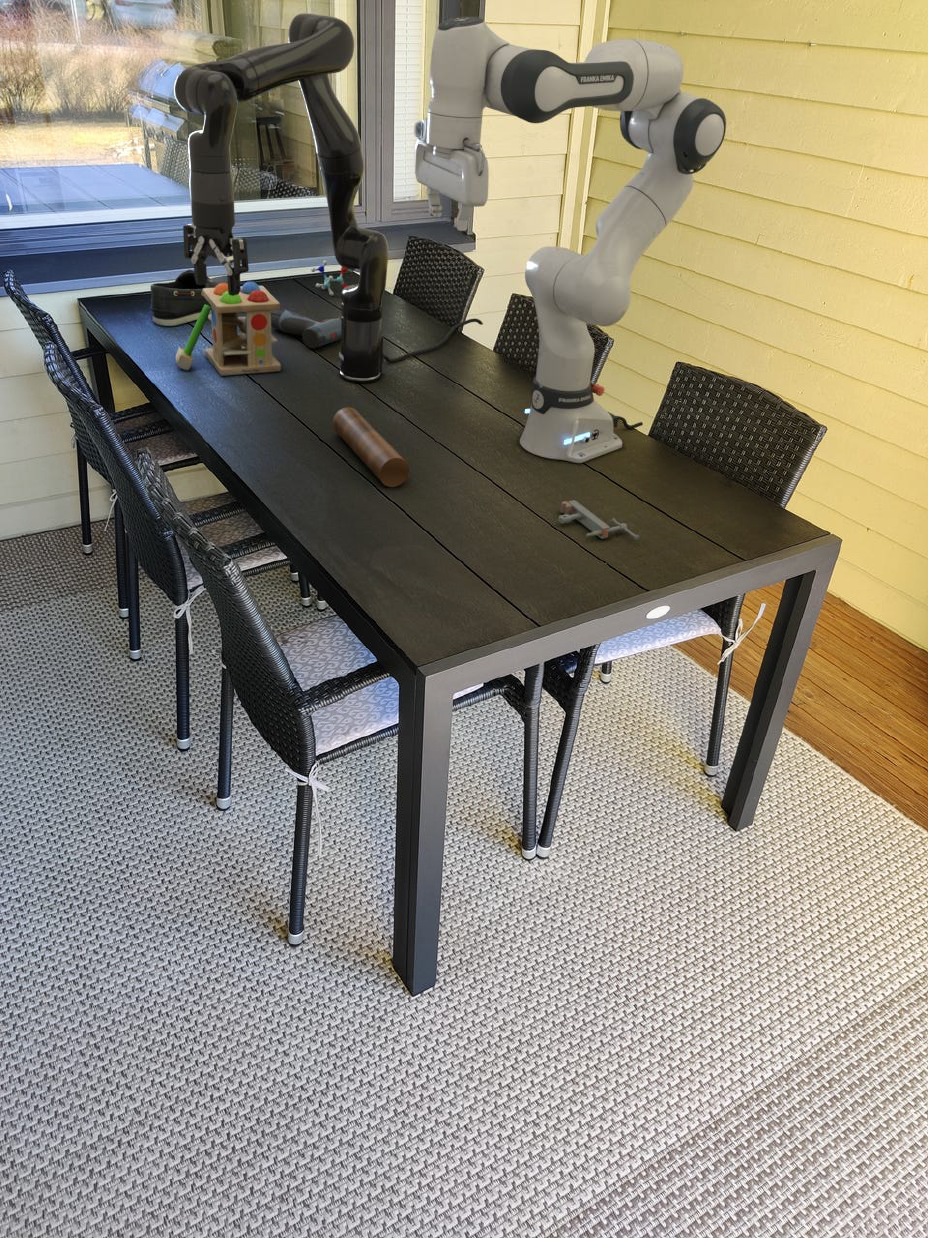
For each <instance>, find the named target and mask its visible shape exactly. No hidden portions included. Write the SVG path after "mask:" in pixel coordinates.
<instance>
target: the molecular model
mask: <svg viewBox="0 0 928 1238" xmlns="http://www.w3.org/2000/svg"><path fill="white" fill-rule="evenodd" d="M327 265H328V261H327V260H323V261H322V265H319V266H318V267H316V268H315V267H311V268H310V271H311V272H312V273H314V272H317V271H318V272H319V273H321V274H322V275H323V277H324V283H318V282H317V283H315V287H316V288H317V289H319V288H320V287H321V289H322V290H323V291H324V290H326V289H327V290H328V293H329V296H331V297H332V296H334V294H335V293H334V292H333V291H332V289H331V283H333V282H337V283H338V284H340V285H341V287H342V288H343V289H344V288H345V287H347V286H348V285H347V284H346V283H345V281H344V278H343V277H344V273H345V272H349V273H354V271H352V270H349V269H346V268H343V267H342V266H341V268H340V271H341V272H340V275H339V276H337V278H334V276H333V275H329V277H327V275H326V273H325V266H327Z"/></svg>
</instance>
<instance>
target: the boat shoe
mask: <svg viewBox="0 0 928 1238" xmlns="http://www.w3.org/2000/svg"><path fill="white" fill-rule="evenodd" d="M194 275H195V274H194V269H193V270H192V269H187V270H185V271H183V272H181V273H179V275H178V276H177V277H176V279H175V280H174V281H170V282H169V281H168V282H156V283H151V284H150V293H151V294H150V295H151V303H150V304H151V306H150V307H149V309H150V311H152V322H153V323H154V324H157V325H158V326H159V325H160V326H164V327H172V326H178V325H182V324H186V323H189V322H193V321H197V320H198V318H199V316H200V314H201V311H202V309H203V307H204V305H208V306H210V307H211V305H210V304H209V302H208V301H207V300H206V299H205V297H204V296H203V289H204V288H215V287H216V286H217V285H218V284H221V283H226V284H228V278H227V275H222V276H221V275H220V276H216V277H212V278H210V277H209V276H207V283H206V284H204V285H197V284H196V281H195V276H194ZM209 314H211V310H210V312H209Z"/></svg>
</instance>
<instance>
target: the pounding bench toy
mask: <svg viewBox="0 0 928 1238" xmlns="http://www.w3.org/2000/svg"><path fill="white" fill-rule="evenodd" d="M240 287H241V290H240V292H239V294H238V295H234V296H232V295H229V294H228V284H226V283H221V284H218V285H217V286H216V287H215V288H204V289H203V296H204V297H205V299H206V300H207V301H208V302H209V304H210V305H211V307H210V306H208V305H204V307H203V309H202V311H201V314H200V316H199V318H198V319H197V320H196V322H195V324H194V327H193V329H192V331H191V332H190V333H191V334H190V336H189V338H188V340H187V343H186V344H185V347H184V348H182V347H180V346H179V347H178V349H177V351H176V354H175V357H174V358H175V362H176V365H177V366H178V368H179V369H182V370H185V371H189V370H190V369H191V367H192V365H193V363H194V356H193V351H194V348H195V347H196V345H197V342H198V340H199V337H200V336H201V333H202V332H203V329H204V326H205V325H206V322H207V320H209V321H210V322H211V336H212V337H211V338H212V339H211V340H212V348H205V349H204V352H205V353H204V355H205V357H206V359H208V361H209V363H210V364H211V365H212V366H213V367H214V369H215V370H216V371H217V372H218V374H219V375H220V376H222V377H223V376H234V375H235V376H236V375H246V374H247V375H250V374H262V373H275V372H281V370H282V364H281V363H280V362H279V360H278V359H277V358H276V357H275V356H274V355H273V348H272V347H273V345H272V344H276V343H278V342H279V341H278V339H277V338H276V337H275V336H274V334H272V327H271V310H280V309H281V304H280V301H278V300H277V299H276V297H274V296H273V295H272V294H271V293H270V292H269V290H268V289H267V288H266V287H264V285H259V284H257V283H256V282H255V281H247V282H245V283H244V284H243V285H242V286H240ZM210 310H211V313H209V312H210ZM238 313H244V314H245V315H244V316H238ZM238 329H239V331H240V333H239V334H238Z"/></svg>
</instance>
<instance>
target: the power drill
mask: <svg viewBox="0 0 928 1238" xmlns="http://www.w3.org/2000/svg"><path fill="white" fill-rule="evenodd" d="M271 328H274V329H276V330H278V331H281V332H284V333H288V334H290V335H296V336H300V337H302V341H303V343H304V344H305V346H306V347H308V348H309V349H316V348H319V347H322V346H325V345H328V344H330V343H333V342H336V341H338V340H341V317H338V318H331V319H324V320H322V321H320V322H319V321H316V320H314V319H312V318H309V317H306V316H304V315H302V314H300V313H297V312H293V311H291V310H288V309H283V308H280V310H271Z"/></svg>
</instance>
